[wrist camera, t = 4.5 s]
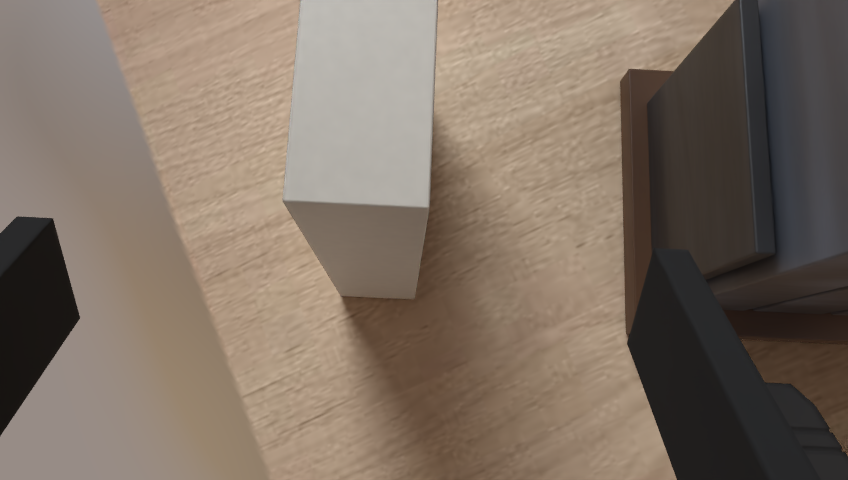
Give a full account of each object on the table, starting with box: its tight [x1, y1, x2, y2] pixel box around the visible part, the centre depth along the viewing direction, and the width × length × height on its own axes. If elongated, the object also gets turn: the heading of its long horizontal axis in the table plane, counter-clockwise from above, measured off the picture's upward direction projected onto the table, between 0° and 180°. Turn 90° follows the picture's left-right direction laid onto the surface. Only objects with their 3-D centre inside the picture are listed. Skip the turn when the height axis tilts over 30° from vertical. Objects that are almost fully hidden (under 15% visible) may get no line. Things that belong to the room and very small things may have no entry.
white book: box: [283, 0, 438, 299], centre depth 22 cm, size 3×9×14 cm, turn 177°
